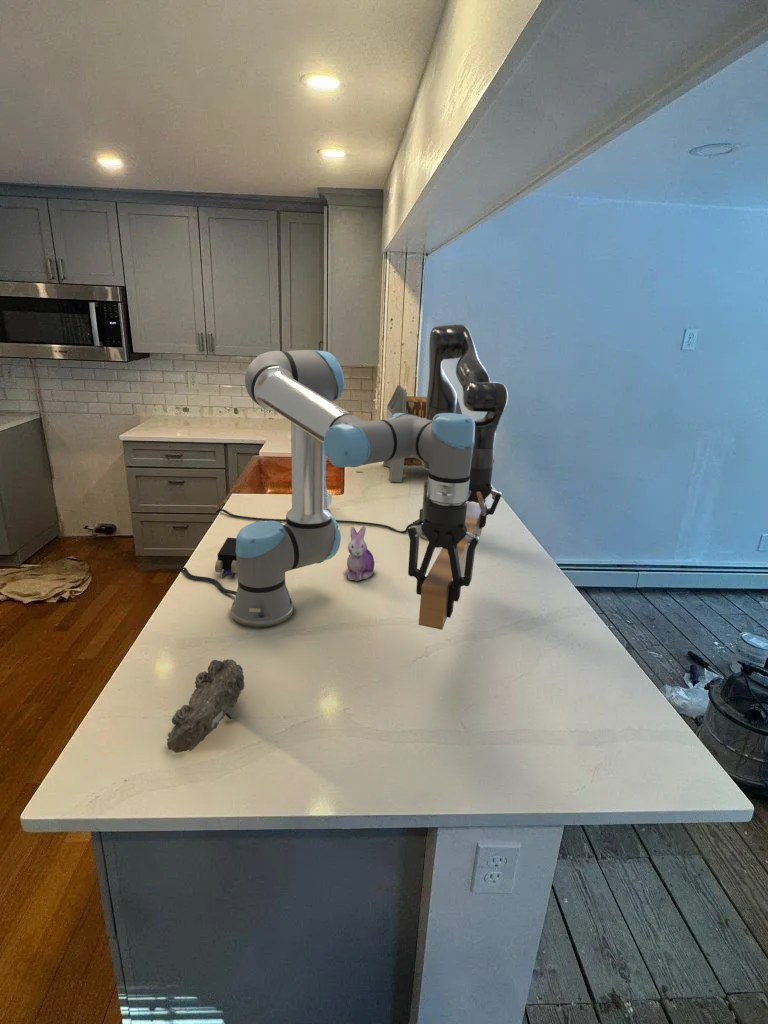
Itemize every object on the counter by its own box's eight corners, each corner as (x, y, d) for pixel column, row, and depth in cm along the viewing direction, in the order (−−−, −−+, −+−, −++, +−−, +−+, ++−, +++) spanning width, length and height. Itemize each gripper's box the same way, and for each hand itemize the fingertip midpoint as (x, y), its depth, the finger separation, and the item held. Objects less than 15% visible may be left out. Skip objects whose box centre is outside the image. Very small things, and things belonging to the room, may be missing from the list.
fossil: (192, 660, 117) (244, 628, 112) (224, 691, 120) (276, 661, 115) (142, 746, 98) (202, 712, 93) (182, 779, 101) (242, 748, 96)
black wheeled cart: (238, 584, 162) (249, 557, 175) (236, 562, 158) (247, 536, 172) (215, 584, 161) (227, 556, 175) (212, 561, 158) (225, 535, 171)
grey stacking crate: (382, 463, 289) (386, 382, 275) (445, 464, 293) (451, 384, 279) (390, 482, 257) (394, 392, 243) (460, 483, 261) (468, 394, 247)
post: (464, 531, 154) (467, 502, 152) (481, 534, 153) (484, 504, 150) (418, 625, 108) (421, 585, 105) (442, 629, 106) (446, 589, 103)
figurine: (352, 584, 162) (353, 535, 156) (338, 570, 170) (339, 523, 165) (381, 578, 166) (384, 531, 161) (366, 565, 174) (368, 519, 169)
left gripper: (394, 499, 102) (388, 611, 111) (492, 513, 98) (478, 630, 106) (405, 487, 109) (398, 594, 117) (497, 500, 105) (483, 611, 113)
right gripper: (446, 463, 140) (441, 527, 146) (505, 470, 136) (497, 535, 142) (452, 456, 147) (446, 517, 153) (508, 463, 143) (500, 525, 149)
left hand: (436, 611), depth 112 cm, fingers closed on post, 5 cm apart
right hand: (471, 526), depth 148 cm, fingers closed on post, 4 cm apart
